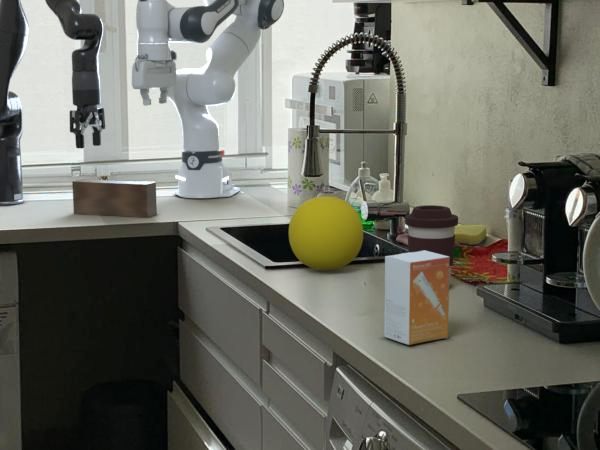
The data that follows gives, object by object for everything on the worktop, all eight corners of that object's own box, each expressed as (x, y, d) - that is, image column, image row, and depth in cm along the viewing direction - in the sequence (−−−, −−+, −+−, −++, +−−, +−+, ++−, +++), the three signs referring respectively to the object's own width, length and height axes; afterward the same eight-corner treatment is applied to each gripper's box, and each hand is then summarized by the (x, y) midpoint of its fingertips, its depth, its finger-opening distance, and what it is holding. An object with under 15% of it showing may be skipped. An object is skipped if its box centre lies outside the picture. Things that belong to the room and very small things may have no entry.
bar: (73, 213, 291) (72, 181, 290) (83, 210, 296) (82, 179, 294) (147, 217, 283) (146, 184, 282) (156, 214, 288) (155, 182, 286)
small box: (409, 346, 158) (409, 262, 156) (383, 337, 163) (383, 255, 161) (449, 337, 162) (450, 255, 160) (423, 329, 168) (424, 249, 166)
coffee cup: (400, 280, 202) (400, 204, 200) (450, 279, 203) (451, 203, 201) (409, 292, 193) (410, 212, 190) (462, 291, 193) (463, 211, 191)
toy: (345, 259, 223) (344, 190, 221) (374, 273, 209) (374, 199, 207) (278, 265, 218) (278, 194, 216) (304, 279, 204) (304, 204, 202)
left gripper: (83, 89, 278) (86, 149, 281) (111, 86, 291) (113, 145, 294) (59, 88, 281) (62, 149, 283) (88, 86, 294) (90, 144, 297)
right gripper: (145, 54, 279) (147, 106, 282) (179, 53, 298) (181, 102, 301) (124, 54, 281) (126, 106, 284) (159, 54, 300) (161, 102, 303)
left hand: (88, 146), depth 289 cm, fingers open, 8 cm apart
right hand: (155, 104), depth 292 cm, fingers open, 8 cm apart
